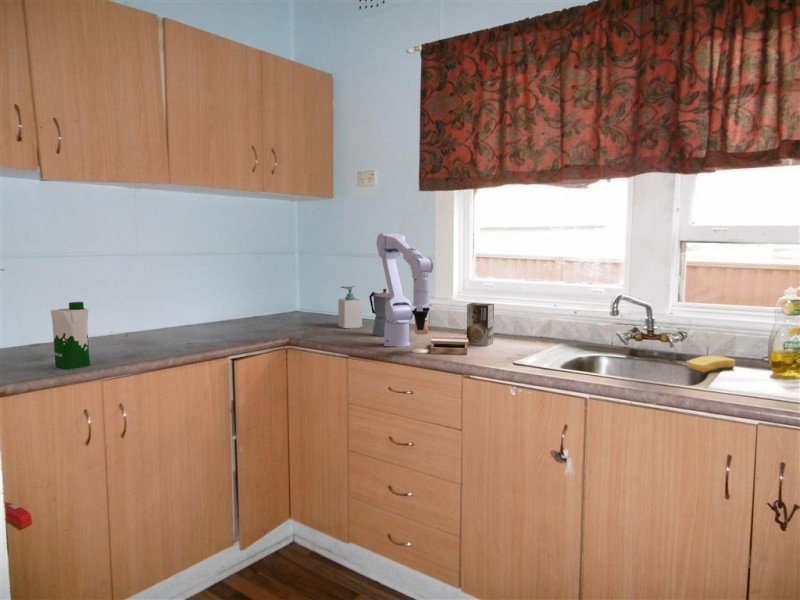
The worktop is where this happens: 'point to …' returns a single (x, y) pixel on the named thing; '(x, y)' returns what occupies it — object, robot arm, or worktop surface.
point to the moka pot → (379, 311)
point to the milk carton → (71, 336)
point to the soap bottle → (350, 311)
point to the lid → (449, 340)
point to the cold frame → (448, 349)
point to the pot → (423, 329)
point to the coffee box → (480, 323)
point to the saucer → (420, 351)
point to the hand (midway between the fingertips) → (420, 328)
